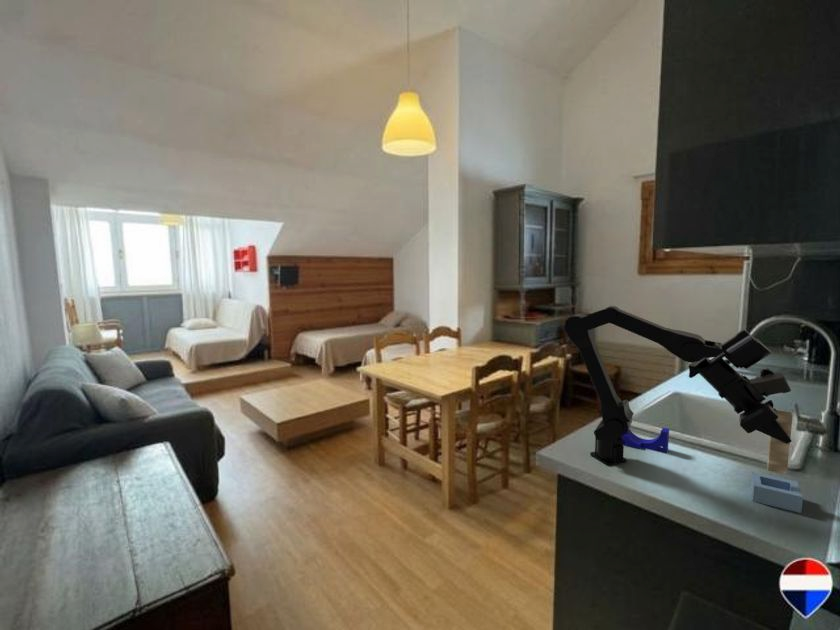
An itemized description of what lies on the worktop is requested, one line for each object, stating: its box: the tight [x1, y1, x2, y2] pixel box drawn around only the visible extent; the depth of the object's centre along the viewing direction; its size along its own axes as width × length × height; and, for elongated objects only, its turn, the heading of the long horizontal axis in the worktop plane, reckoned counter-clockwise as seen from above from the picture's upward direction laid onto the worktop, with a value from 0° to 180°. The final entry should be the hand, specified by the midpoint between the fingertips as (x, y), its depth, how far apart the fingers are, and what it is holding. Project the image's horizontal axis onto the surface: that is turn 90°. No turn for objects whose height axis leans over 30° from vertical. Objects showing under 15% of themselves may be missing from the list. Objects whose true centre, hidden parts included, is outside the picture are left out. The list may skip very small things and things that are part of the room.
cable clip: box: [621, 427, 670, 454], centre depth 112 cm, size 12×4×6 cm, turn 50°
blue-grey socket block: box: [749, 471, 804, 514], centre depth 86 cm, size 8×7×4 cm
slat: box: [766, 409, 793, 475], centre depth 85 cm, size 3×2×13 cm, turn 55°
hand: (788, 440), depth 84 cm, fingers closed on slat, 2 cm apart
